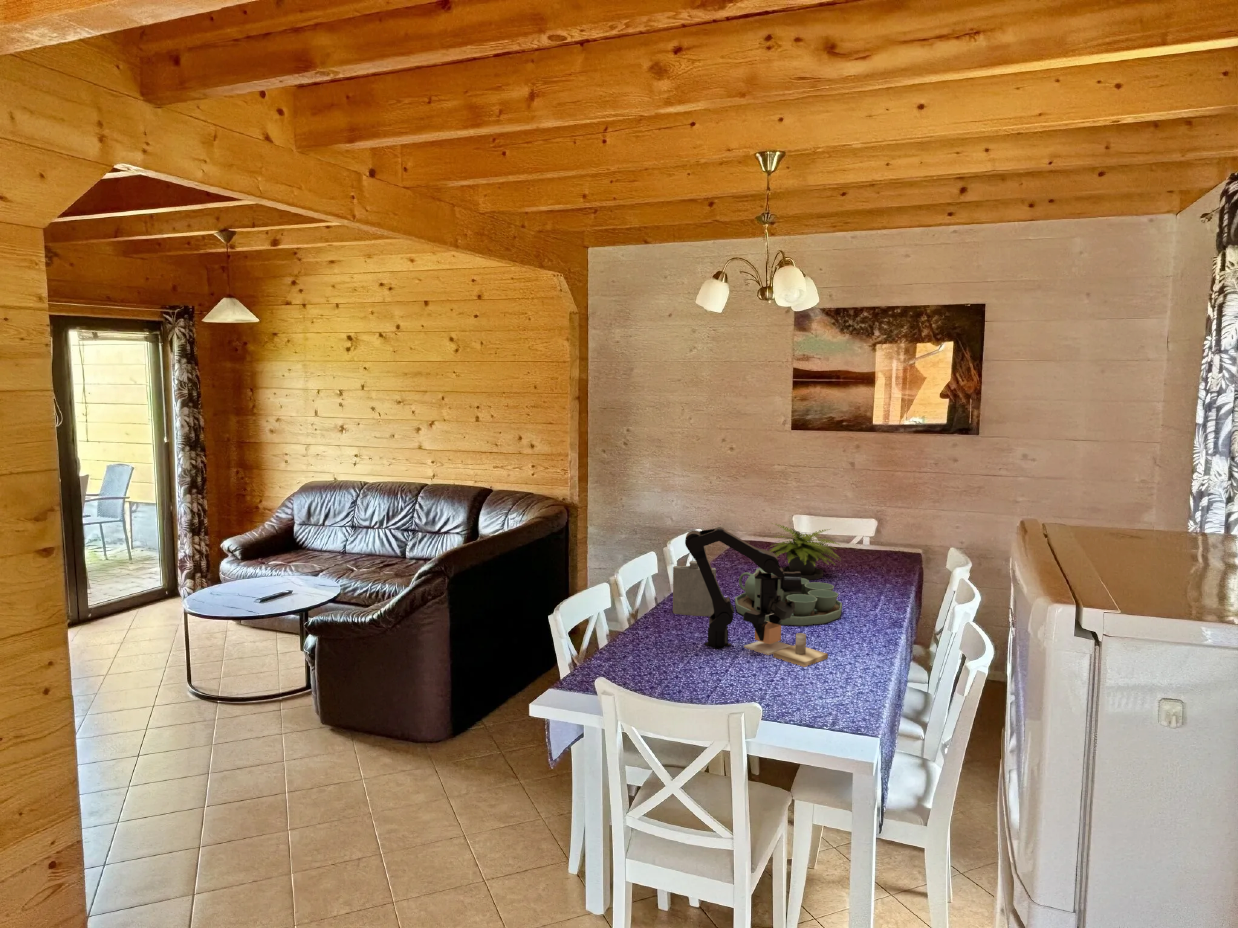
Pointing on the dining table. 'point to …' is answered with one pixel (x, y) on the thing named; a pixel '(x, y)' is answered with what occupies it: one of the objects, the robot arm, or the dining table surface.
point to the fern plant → (804, 553)
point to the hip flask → (691, 591)
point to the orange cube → (770, 633)
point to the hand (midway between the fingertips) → (767, 638)
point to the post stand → (800, 653)
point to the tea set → (809, 604)
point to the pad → (766, 647)
